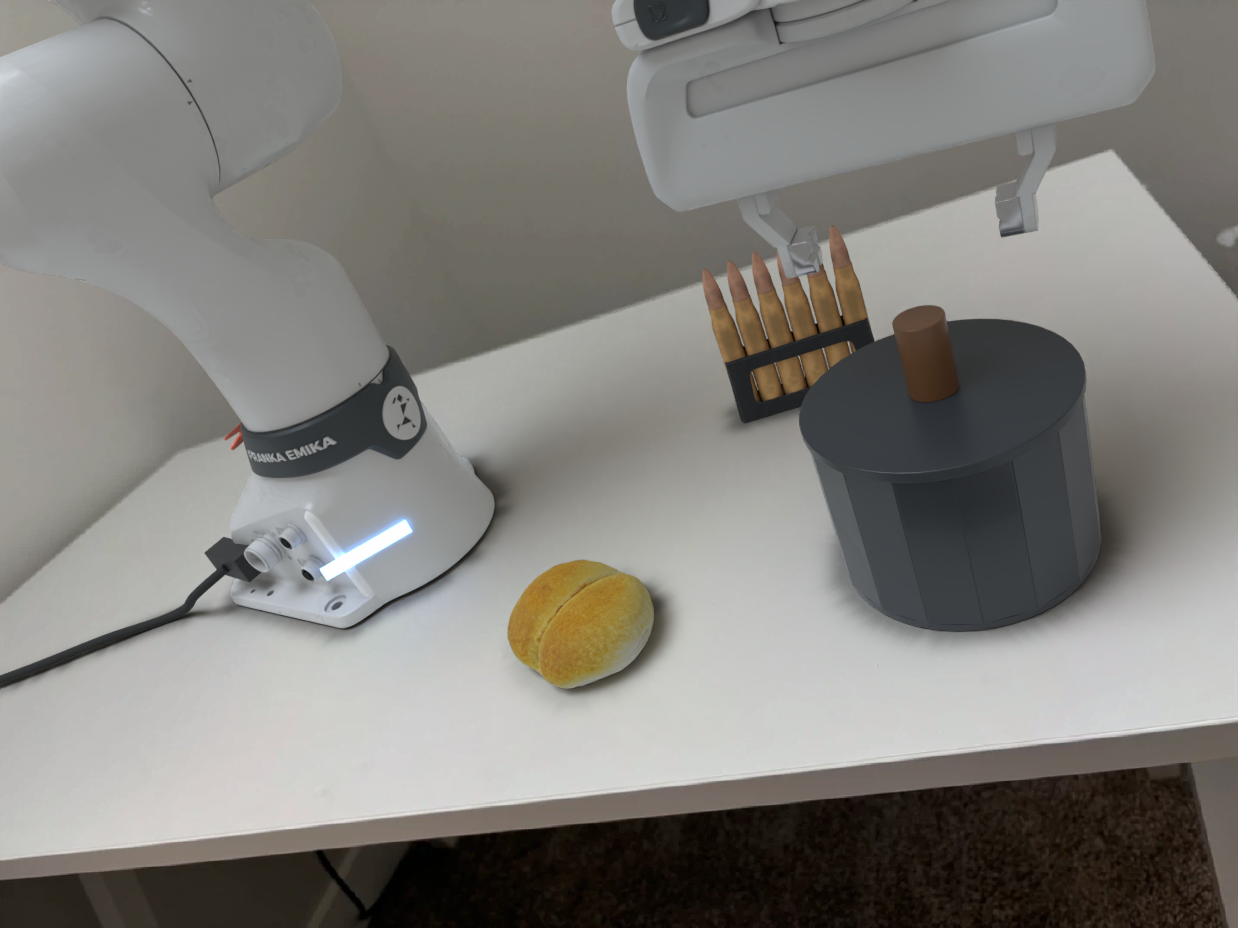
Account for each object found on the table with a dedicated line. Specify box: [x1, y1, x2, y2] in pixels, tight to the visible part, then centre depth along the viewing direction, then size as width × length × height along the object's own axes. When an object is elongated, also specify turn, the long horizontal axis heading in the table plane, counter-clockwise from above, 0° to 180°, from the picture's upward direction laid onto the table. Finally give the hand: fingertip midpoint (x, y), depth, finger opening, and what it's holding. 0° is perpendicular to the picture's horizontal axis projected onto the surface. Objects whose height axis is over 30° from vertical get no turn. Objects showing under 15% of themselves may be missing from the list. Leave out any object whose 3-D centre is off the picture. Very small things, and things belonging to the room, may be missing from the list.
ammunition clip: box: [701, 224, 876, 424], centre depth 67 cm, size 11×2×12 cm, turn 89°
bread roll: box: [507, 559, 655, 689], centre depth 55 cm, size 8×9×4 cm
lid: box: [798, 304, 1088, 483], centre depth 46 cm, size 13×13×5 cm
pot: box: [809, 394, 1102, 632], centre depth 49 cm, size 13×13×10 cm
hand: (907, 251), depth 43 cm, fingers open, 8 cm apart
